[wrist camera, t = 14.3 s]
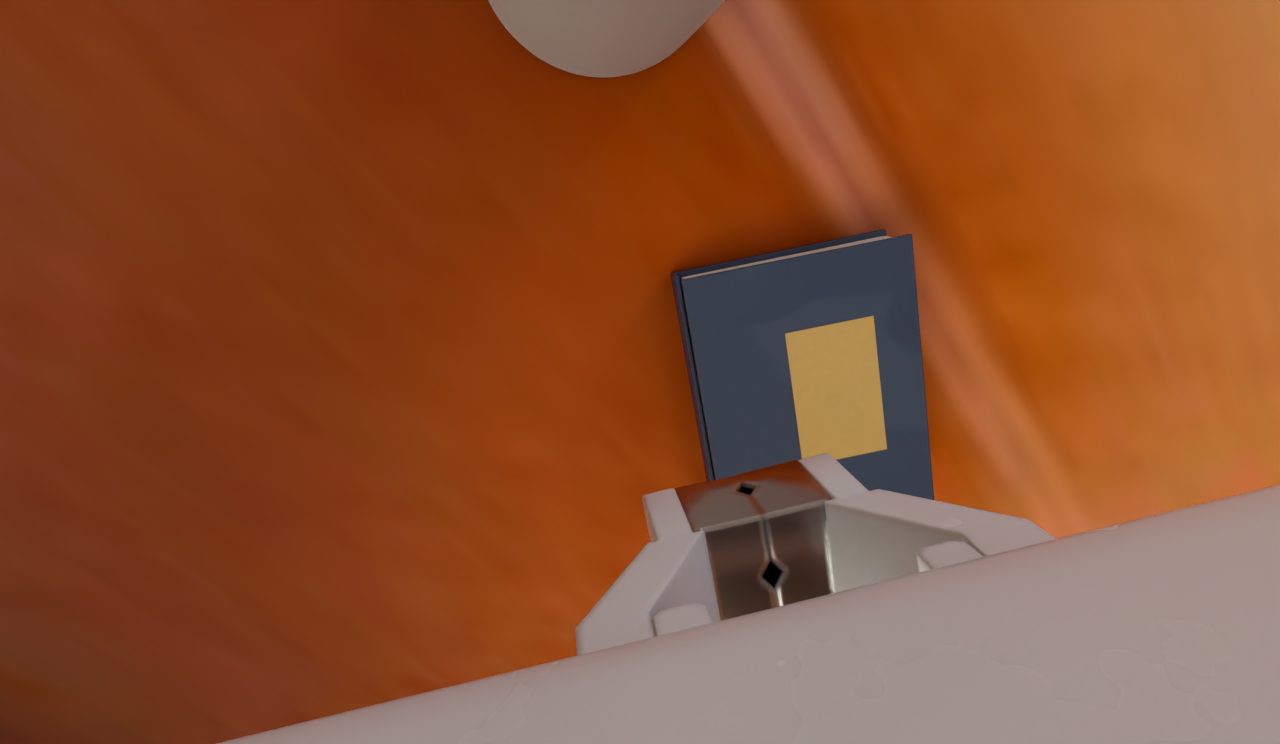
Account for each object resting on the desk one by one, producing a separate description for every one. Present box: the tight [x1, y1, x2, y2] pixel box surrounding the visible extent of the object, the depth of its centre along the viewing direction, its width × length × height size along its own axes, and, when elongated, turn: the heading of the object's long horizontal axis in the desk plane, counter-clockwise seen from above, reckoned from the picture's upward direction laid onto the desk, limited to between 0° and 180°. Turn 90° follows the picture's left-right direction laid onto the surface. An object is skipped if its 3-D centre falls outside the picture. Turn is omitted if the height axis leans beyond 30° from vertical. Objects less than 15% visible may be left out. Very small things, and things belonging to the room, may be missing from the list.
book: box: [671, 230, 892, 481], centre depth 44 cm, size 13×16×2 cm
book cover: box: [681, 234, 934, 500], centre depth 42 cm, size 13×16×2 cm
